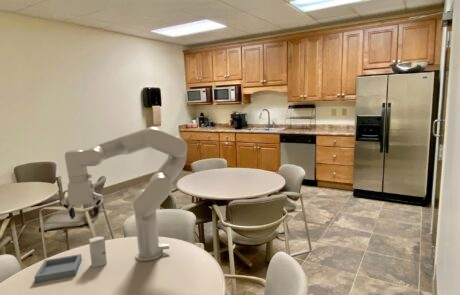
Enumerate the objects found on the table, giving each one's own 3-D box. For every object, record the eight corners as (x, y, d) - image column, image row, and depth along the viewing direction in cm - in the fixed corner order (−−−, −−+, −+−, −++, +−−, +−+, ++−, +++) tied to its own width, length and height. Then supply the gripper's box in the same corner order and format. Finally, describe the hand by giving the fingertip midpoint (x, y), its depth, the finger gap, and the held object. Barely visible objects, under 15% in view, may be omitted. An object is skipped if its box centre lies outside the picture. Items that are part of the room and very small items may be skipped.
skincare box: (92, 268, 132) (89, 242, 130) (91, 264, 136) (88, 239, 134) (107, 263, 135) (104, 238, 134) (105, 259, 139) (102, 235, 137)
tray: (81, 259, 140) (81, 253, 140) (75, 276, 127) (74, 269, 126) (45, 266, 136) (44, 260, 135) (35, 283, 123) (34, 276, 122)
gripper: (102, 174, 133) (107, 210, 136) (60, 178, 131) (67, 215, 134) (97, 178, 126) (103, 216, 129) (53, 183, 124) (60, 222, 126)
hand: (84, 216), depth 131 cm, fingers open, 9 cm apart
